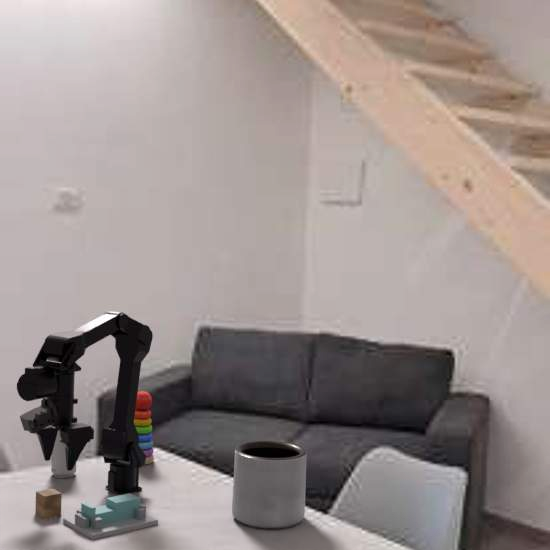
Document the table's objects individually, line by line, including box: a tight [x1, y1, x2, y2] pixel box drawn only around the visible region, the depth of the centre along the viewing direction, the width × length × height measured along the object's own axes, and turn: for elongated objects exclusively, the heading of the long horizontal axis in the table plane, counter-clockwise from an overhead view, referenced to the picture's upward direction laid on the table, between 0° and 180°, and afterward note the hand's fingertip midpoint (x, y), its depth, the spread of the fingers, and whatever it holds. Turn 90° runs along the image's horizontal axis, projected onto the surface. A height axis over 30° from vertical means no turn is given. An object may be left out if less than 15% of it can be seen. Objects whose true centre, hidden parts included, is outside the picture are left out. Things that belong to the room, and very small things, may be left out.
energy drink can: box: [50, 413, 78, 479], centre depth 235 cm, size 6×6×15 cm
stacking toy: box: [134, 390, 155, 466], centre depth 250 cm, size 8×8×19 cm
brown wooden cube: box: [34, 488, 63, 520], centre depth 207 cm, size 4×4×5 cm
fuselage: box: [80, 492, 141, 527], centre depth 203 cm, size 12×4×4 cm, turn 132°
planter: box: [231, 440, 308, 530], centre depth 210 cm, size 16×16×16 cm
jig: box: [62, 502, 159, 541], centre depth 203 cm, size 16×12×3 cm
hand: (58, 465), depth 205 cm, fingers open, 9 cm apart
